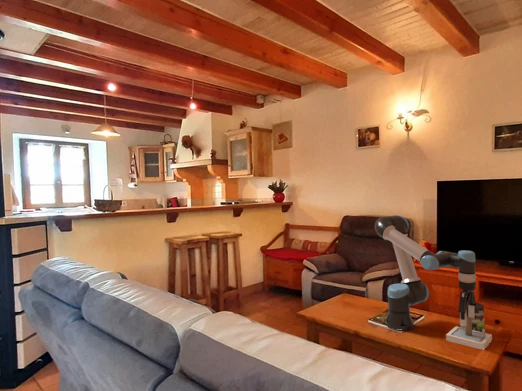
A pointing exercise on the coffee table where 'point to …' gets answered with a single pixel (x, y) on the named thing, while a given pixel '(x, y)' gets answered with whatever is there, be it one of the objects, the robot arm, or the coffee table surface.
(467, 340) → the frame
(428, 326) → the coffee table surface
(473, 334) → the grey panel with handle
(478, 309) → the coffee can
